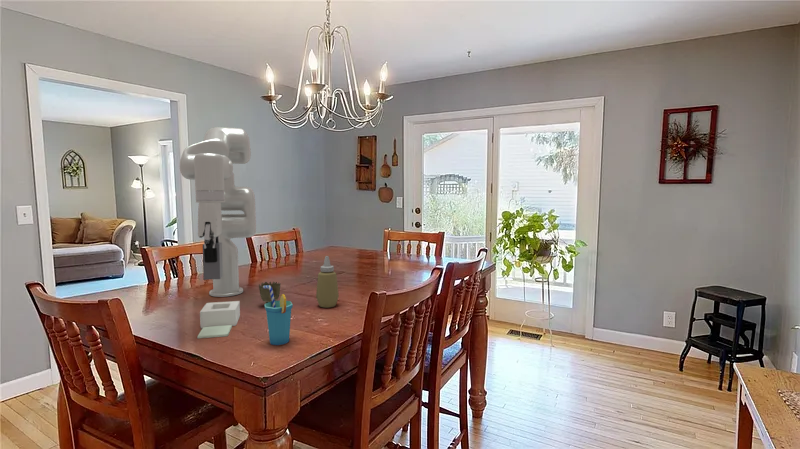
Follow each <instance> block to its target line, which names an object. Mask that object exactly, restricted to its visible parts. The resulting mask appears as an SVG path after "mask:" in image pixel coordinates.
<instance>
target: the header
mask: <svg viewBox="0 0 800 449" xmlns="http://www.w3.org/2000/svg"><path fill="white" fill-rule="evenodd" d="M240 309H241V304H240V300H234V301H232V300H231V301H217V302H206V303H205V304H204V306H203V307H202V309H201V310H200V311H199V321H200V326H199V327H200V329H202V328H203V327H211V326H225V325H232V327H234V326H235V327H236V326H237V325H238V321H239V319H240V317H241V310H240Z"/></svg>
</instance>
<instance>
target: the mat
mask: <svg viewBox="0 0 800 449" xmlns="http://www.w3.org/2000/svg"><path fill="white" fill-rule="evenodd" d="M232 328H233V326H232V325H225V326H211V327H203V328H201V330H200V331H199V333H198V335H197V339H206V338H218V337H219V338H220V337H229V334H230V332H231V330H232Z"/></svg>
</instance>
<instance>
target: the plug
mask: <svg viewBox="0 0 800 449" xmlns="http://www.w3.org/2000/svg"><path fill="white" fill-rule="evenodd" d="M215 248H217V262H209V263H206V262H205V259H204V243H203V244H202V269H203V270H202V273H203V275H202V276H203V277H202V278H203V280H205V281H207V280H209V281H211V280H213V279H221V277H222V276H223V265H222V242H220V243H216V246H215Z"/></svg>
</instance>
